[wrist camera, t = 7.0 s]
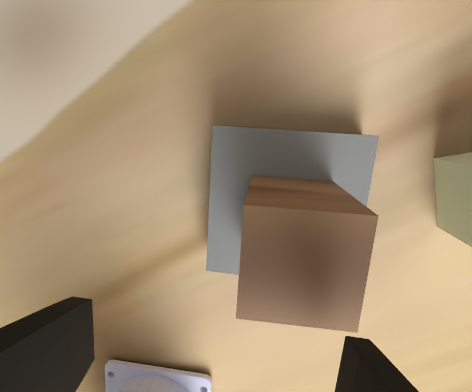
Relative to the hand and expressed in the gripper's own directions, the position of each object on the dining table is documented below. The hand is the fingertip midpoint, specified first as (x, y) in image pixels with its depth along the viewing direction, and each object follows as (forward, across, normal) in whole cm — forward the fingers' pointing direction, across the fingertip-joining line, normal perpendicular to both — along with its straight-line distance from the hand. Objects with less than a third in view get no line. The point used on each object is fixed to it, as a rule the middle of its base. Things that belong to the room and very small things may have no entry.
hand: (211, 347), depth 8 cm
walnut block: (+8, -2, -2) cm, 8 cm away
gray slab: (+11, -2, -2) cm, 11 cm away
